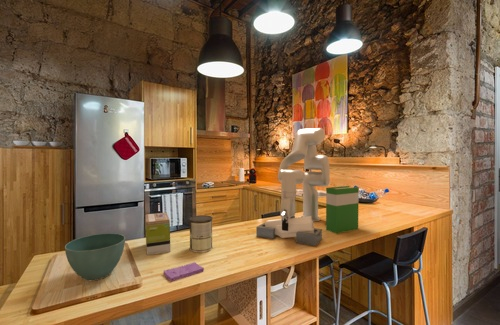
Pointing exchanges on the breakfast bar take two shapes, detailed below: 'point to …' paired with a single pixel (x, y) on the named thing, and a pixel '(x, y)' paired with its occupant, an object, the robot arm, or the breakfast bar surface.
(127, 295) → the breakfast bar surface
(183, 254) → the breakfast bar surface
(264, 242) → the breakfast bar surface
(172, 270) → the sponges
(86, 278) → the green round bowl
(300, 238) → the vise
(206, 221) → the coffee can
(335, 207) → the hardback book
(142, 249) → the breakfast bar surface
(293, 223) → the cream elongated piece
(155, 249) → the tea box
